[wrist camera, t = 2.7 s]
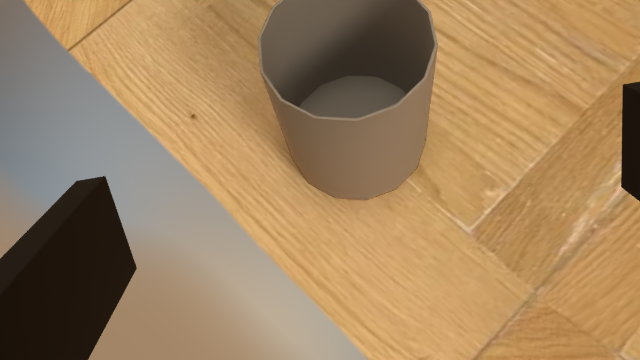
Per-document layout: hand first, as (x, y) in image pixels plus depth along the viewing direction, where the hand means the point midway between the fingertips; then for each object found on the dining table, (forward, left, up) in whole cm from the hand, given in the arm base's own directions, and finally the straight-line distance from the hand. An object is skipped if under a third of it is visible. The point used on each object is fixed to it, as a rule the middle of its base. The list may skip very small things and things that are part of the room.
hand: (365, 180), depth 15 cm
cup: (-2, +11, -19) cm, 22 cm away
